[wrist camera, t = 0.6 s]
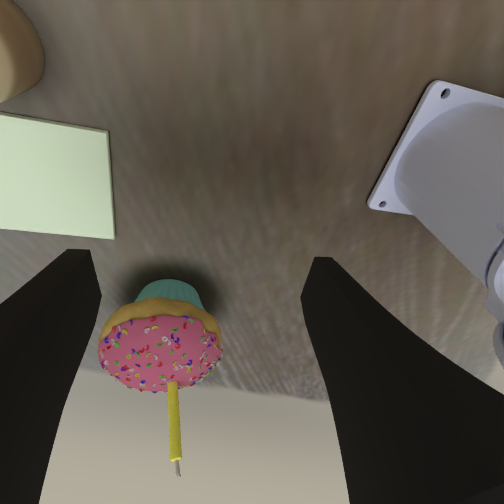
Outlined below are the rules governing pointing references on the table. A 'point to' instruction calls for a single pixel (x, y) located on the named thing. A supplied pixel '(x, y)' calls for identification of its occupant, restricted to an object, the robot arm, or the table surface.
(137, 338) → the cupcake
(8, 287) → the table surface
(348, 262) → the table surface
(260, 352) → the table surface
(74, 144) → the mat
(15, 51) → the tan wooden cylinder
